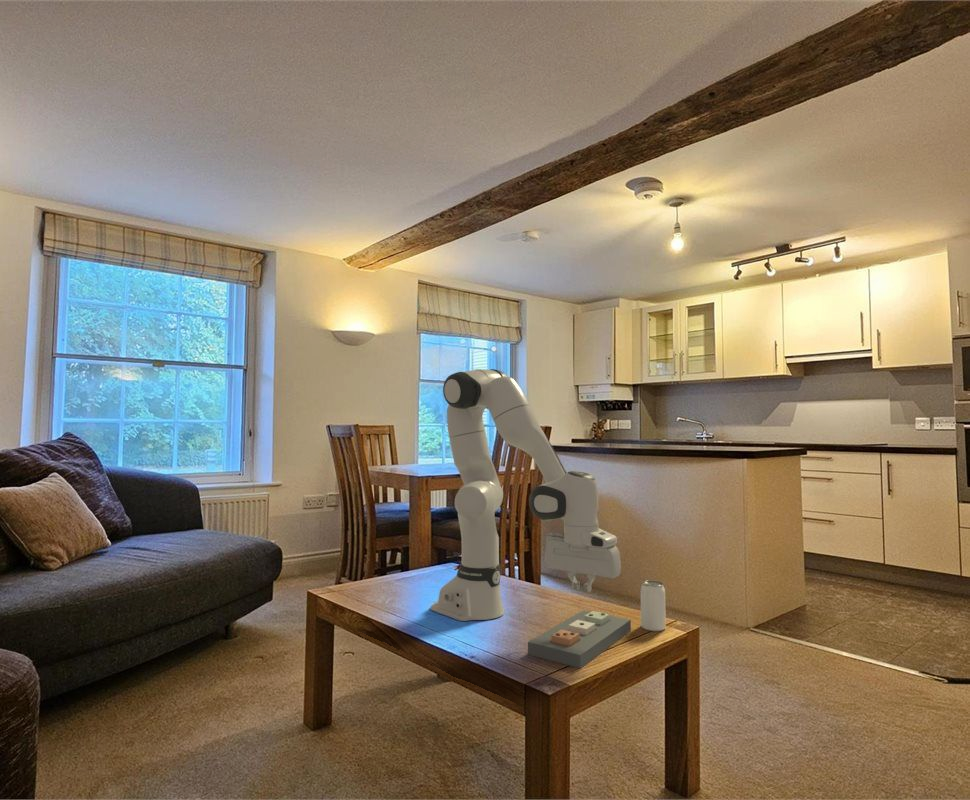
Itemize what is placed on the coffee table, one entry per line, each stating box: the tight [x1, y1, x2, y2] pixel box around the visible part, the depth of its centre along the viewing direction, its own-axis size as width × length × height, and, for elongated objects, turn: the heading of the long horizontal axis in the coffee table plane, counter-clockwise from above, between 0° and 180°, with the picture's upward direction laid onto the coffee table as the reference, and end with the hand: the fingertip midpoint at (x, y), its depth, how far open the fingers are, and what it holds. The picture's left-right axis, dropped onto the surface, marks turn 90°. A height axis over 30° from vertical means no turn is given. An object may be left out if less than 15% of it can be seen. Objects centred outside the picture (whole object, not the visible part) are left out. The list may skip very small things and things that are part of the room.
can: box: [640, 580, 667, 632], centre depth 161 cm, size 6×6×12 cm
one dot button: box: [569, 620, 595, 636], centre depth 150 cm, size 5×5×3 cm
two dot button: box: [584, 610, 611, 626], centre depth 157 cm, size 5×5×3 cm
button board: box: [527, 609, 632, 669], centre depth 150 cm, size 14×30×3 cm, turn 144°
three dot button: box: [551, 630, 579, 647], centre depth 142 cm, size 5×5×3 cm
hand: (581, 590), depth 150 cm, fingers closed
